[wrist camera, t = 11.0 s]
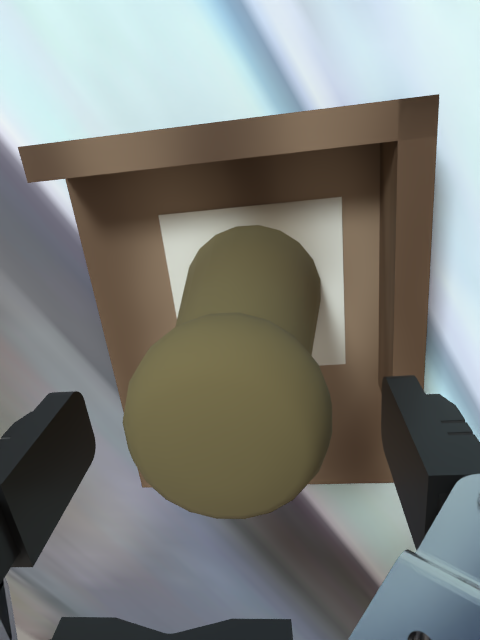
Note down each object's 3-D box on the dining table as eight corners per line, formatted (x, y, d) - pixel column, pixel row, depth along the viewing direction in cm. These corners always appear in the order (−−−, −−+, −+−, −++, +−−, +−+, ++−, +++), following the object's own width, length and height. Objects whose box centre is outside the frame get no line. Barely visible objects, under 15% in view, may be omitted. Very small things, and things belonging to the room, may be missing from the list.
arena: (145, 479, 26) (125, 529, 22) (63, 144, 19) (17, 147, 16) (398, 474, 24) (416, 528, 21) (409, 100, 17) (439, 94, 14)
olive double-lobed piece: (183, 346, 21) (92, 542, 11) (187, 218, 19) (73, 320, 9) (311, 360, 21) (336, 575, 11) (331, 231, 18) (387, 354, 8)
